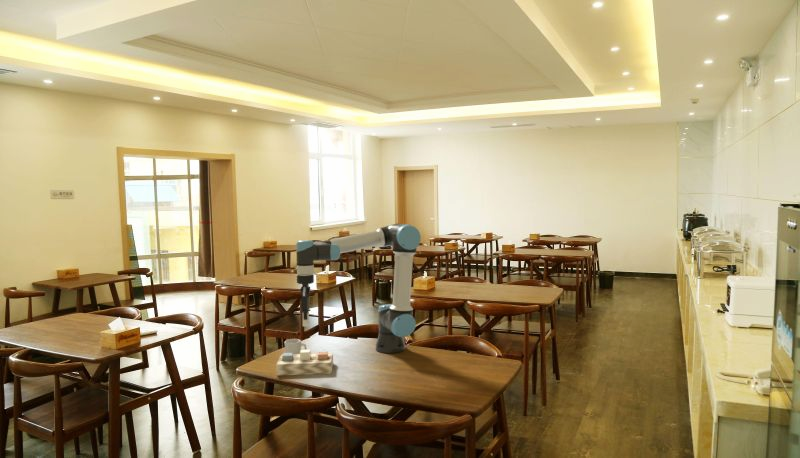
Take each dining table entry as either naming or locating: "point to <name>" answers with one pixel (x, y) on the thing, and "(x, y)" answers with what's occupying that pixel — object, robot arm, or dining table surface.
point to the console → (304, 365)
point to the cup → (293, 346)
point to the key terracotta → (322, 355)
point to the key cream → (305, 355)
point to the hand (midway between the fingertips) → (305, 326)
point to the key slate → (287, 357)
